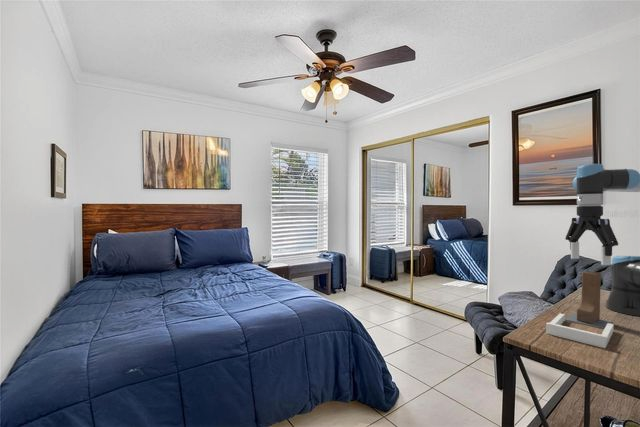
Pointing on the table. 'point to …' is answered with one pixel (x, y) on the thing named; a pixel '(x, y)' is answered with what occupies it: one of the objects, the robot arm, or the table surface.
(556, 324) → the white u-shaped bracket
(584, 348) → the table surface
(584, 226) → the robot arm
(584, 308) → the wooden block
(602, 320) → the pad
